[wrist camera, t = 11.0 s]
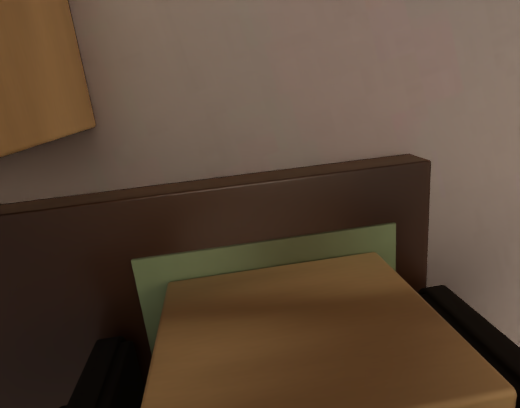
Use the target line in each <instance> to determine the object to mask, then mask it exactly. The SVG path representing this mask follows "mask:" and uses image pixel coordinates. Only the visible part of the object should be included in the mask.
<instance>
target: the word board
mask: <svg viewBox="0 0 520 408" xmlns="http://www.w3.org/2000/svg"><path fill="white" fill-rule="evenodd" d="M430 172H431V161H430V160H427V159H424V158H420V157H417V156H414V155H411V154H405V155H397V156H389V157H381V158H373V159H365V160H357V161H348V162H340V163H332V164H324V165H316V166H308V167H300V168H292V169H284V170H276V171H268V172H260V173H252V174H244V175H236V176H228V177H220V178H212V179H203V180H195V181H187V182H179V183H171V184H163V185H155V186H147V187H139V188H131V189H123V190H115V191H107V192H99V193H91V194H83V195H75V196H67V197H58V198H50V199H42V200H34V201H26V202H18V203H10V204H2V205H0V408H59V407H61V406H64V405H67V404H68V402H69V400H70V397H71V395H72V393H73V391H74V389H75V386H76V384H77V382H78V380H79V378H80V375H81V373H82V371H83V369H84V367H85V364H86V362H87V360H88V358H89V356H90V353H91V351H92V349H93V347H94V345H95V343H96V341H97V340H99V339H104V338H110V337H117V336H124V338H125V340H126V341H133V343H134V346H135V351H136V355H137V359H138V363H139V368H140V372H141V376H142V380H143V385H144V389H145V386H146V381H147V377H148V372H149V367H150V363H151V358H152V354H153V349H154V345H155V340H156V336H157V331H158V326H159V322H160V317H161V313H162V308H163V304H164V299H165V294H166V290H167V285H168V283H170V282H174V281H180V280H187V279H194V278H201V277H208V276H214V275H221V274H228V273H235V272H242V271H248V270H255V269H262V268H269V267H276V266H282V265H289V264H296V263H303V262H309V261H316V260H323V259H330V258H337V257H343V256H350V255H357V254H364V253H371V252H375V253H377V254H378V255H379V256H380V257H381V258H382V259H383V260H384V261H385V262H386V263H387V264H388V265H389V266H391V267H392V268H393V269H394V270H395V271H396V272H397V273H398V274H399V275H400V276H401V277H402V278H403V279H404V280H405V281H406V282H407V283H408V284H409V285H410V286H411V287H412V288H413V289H414V290H415V291H416V292H417V293H418V292H419V290H420V289H421V288H426V279H427V252H428V226H429V199H430Z"/></svg>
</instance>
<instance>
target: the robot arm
mask: <svg viewBox="0 0 520 408" xmlns="http://www.w3.org/2000/svg"><path fill="white" fill-rule="evenodd" d="M418 294H419V295H420V296H421V297H422V298H423V299H424V300H425V301H426V302H427V303H428V304H429V305H430V306H431V307H432V308H433V309H434V310H435V311H436V312H437V313H438V314H439V315H441V316H442V317H443V318H444V319H445V320H446V321H447V322H448V323H449V324H450V325H451V326H452V327H453V328H454V329H455V330H456V331H457V332H458V333H459V334H460V335H461V336H462V337H463V338H464V339H465V340H466V341H467V342H468V343H469V344H470V345H471V346H472V347H473V348H474V349H475V350H476V351H477V352H478V353H479V354H480V355H481V356H482V357H483V358H484V359H485V360H486V361H487V362H488V363H490V364H491V365H492V366H493V367H494V368H495V369H496V370H497V371H498V372H499V373H500V374H501V375H502V376H503V377H504V378H505V379H506V380H507V381H508V382H509V383H510V384H511V385H512V386H513V387H514V389H515V390H516V393H517V398H516V406H515V408H520V348H519V347H518V346H517V345H516V344H514V343H513V342H512V341H511V340H510V339H509V338H507V337H506V336H505V335H504V334H503V333H501V332H500V331H499V330H498V329H497V328H495V327H494V326H493V325H492V324H491V323H489V322H488V321H487V320H486V319H485V318H483V317H482V316H481V315H480V314H479V313H477V312H476V311H475V310H474V309H473V308H471V307H470V306H469V305H468V304H467V303H465V302H464V301H463V300H462V299H461V298H459V297H458V296H457V295H456V294H455V293H453V292H452V291H451V290H450V289H449V288H447V287H446V286H444V285H440V286H434V287H427V288H421V289H420V290H419V292H418ZM144 390H145V389H144V385H143V380H142V376H141V372H140V368H139V363H138V359H137V355H136V351H135V346H134V343H133V341H126V340H125V338H124V336H117V337H110V338H104V339H99V340H97V341H96V343H95V345H94V347H93V349H92V351H91V353H90V356H89V358H88V360H87V362H86V364H85V367H84V369H83V371H82V373H81V375H80V378H79V380H78V382H77V384H76V386H75V389H74V391H73V393H72V395H71V397H70V400H69V402H68V404H67V405H64V406H61V407H59V408H141V404H142V399H143V395H144Z"/></svg>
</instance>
